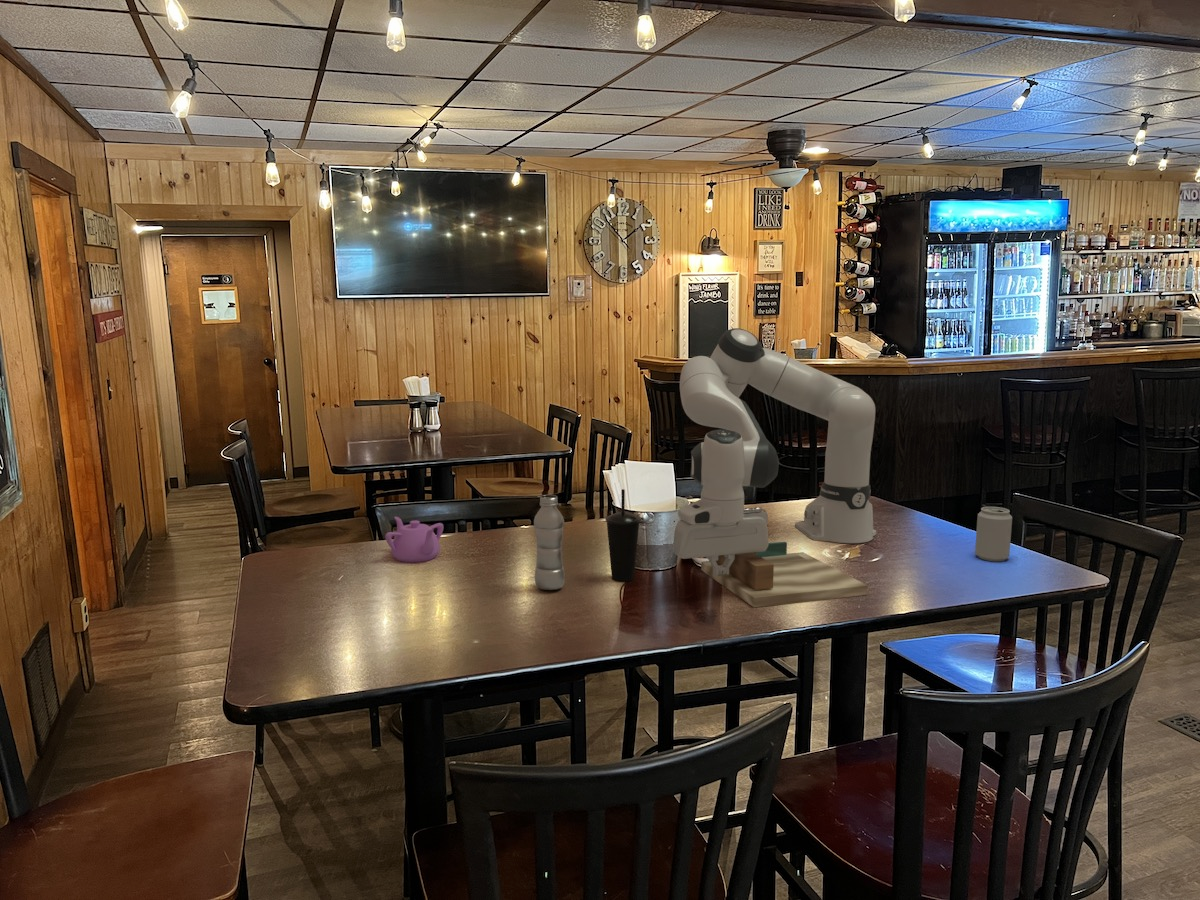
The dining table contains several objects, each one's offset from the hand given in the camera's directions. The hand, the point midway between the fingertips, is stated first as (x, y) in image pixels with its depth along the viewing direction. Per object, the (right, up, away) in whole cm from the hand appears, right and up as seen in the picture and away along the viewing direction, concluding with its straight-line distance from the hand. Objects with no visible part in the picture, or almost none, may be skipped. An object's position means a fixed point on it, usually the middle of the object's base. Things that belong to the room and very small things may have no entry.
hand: (720, 574), depth 181 cm
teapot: (-69, 0, +28) cm, 75 cm away
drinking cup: (-20, -3, +11) cm, 23 cm away
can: (+68, 0, +27) cm, 73 cm away
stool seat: (+14, -3, +9) cm, 17 cm away
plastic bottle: (-36, -4, +4) cm, 36 cm away
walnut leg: (+5, -1, +6) cm, 8 cm away
